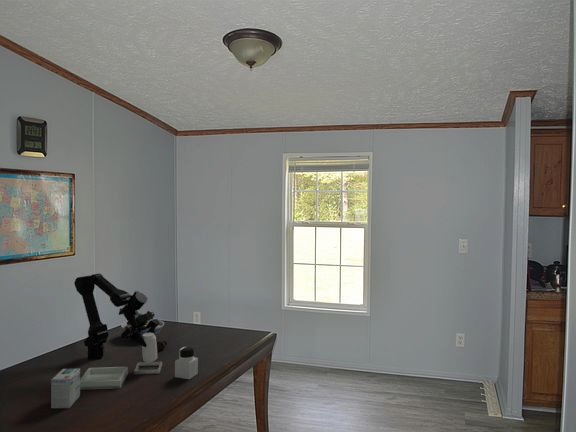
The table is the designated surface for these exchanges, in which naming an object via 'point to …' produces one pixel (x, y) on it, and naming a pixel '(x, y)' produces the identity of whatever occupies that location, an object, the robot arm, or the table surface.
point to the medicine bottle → (186, 364)
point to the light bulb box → (65, 388)
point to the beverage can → (149, 347)
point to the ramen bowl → (146, 324)
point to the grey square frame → (148, 370)
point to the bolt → (161, 345)
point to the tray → (103, 378)
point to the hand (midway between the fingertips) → (151, 344)
